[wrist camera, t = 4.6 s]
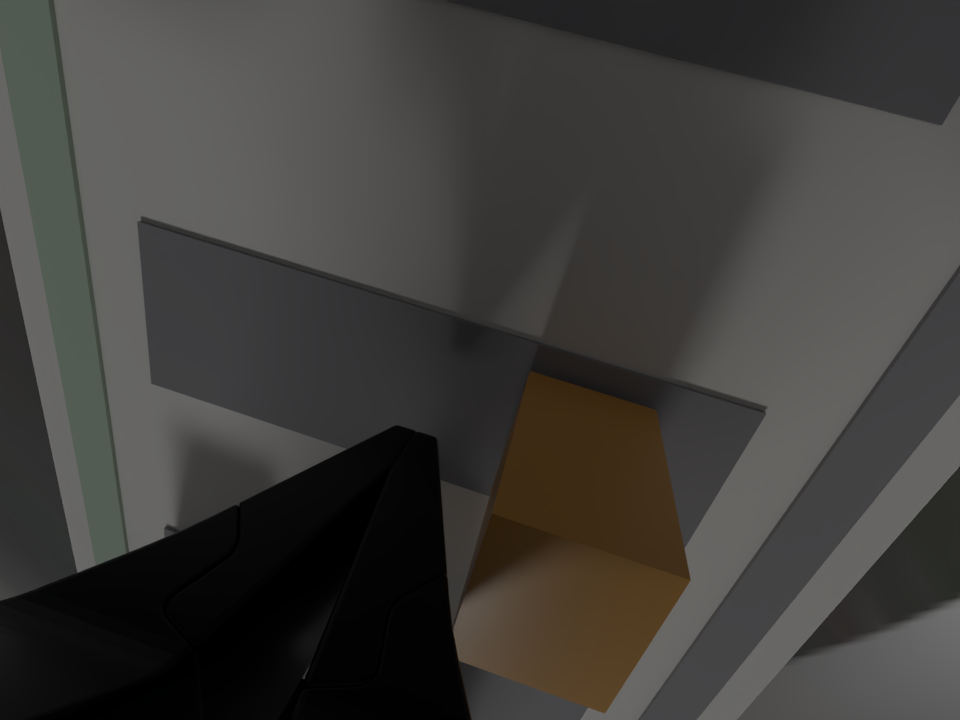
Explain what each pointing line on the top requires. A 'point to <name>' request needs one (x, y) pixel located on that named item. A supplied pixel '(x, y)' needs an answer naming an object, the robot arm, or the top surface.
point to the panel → (502, 272)
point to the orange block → (573, 547)
